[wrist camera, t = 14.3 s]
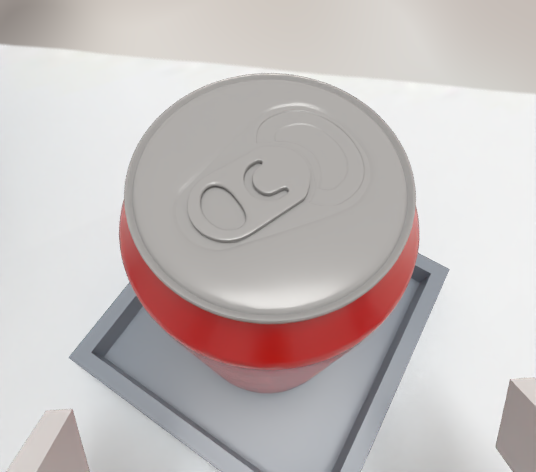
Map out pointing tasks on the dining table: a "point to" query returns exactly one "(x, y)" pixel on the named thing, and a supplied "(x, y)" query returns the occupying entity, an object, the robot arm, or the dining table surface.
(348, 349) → the soda can
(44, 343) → the dining table surface
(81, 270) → the dining table surface
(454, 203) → the dining table surface
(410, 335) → the tray
